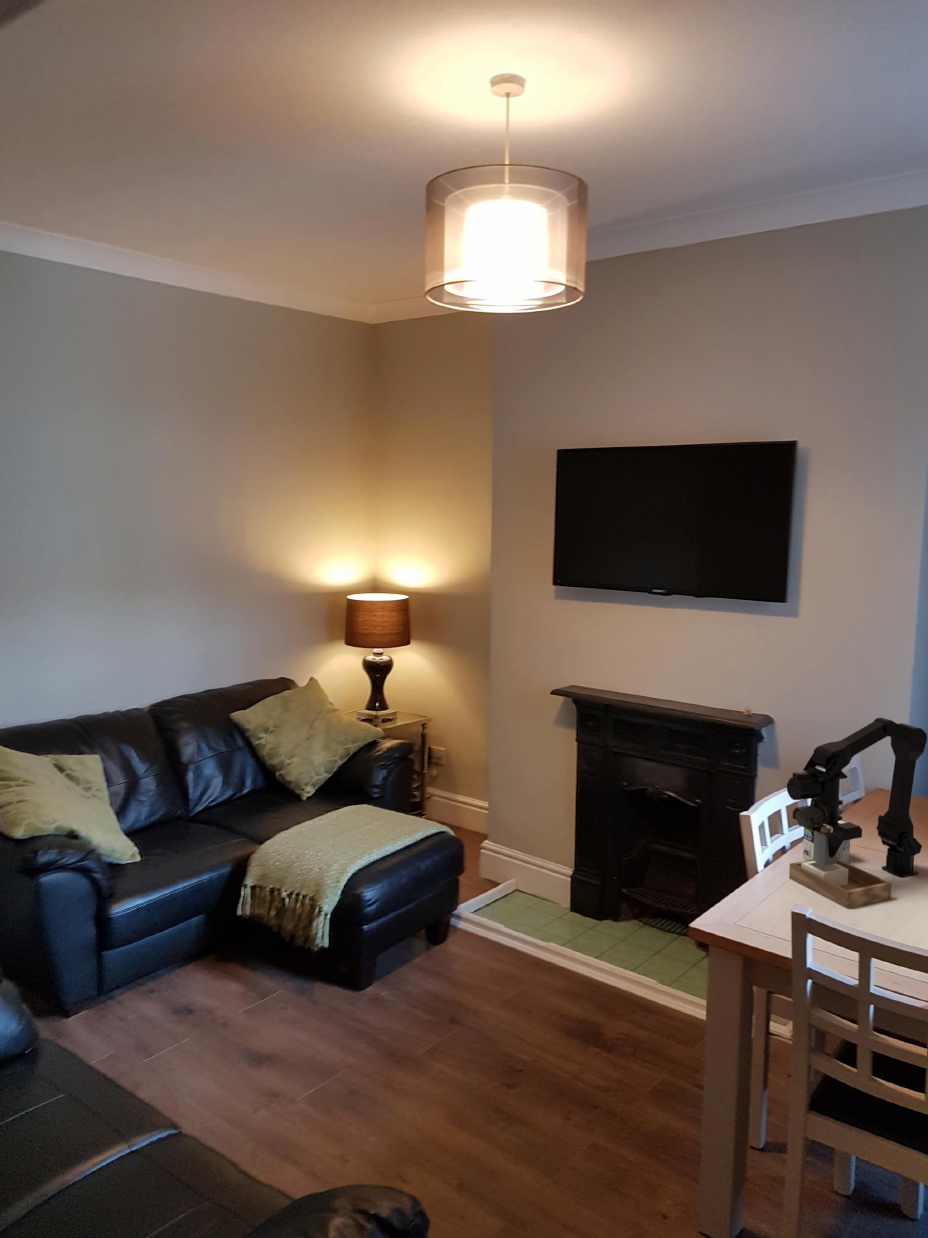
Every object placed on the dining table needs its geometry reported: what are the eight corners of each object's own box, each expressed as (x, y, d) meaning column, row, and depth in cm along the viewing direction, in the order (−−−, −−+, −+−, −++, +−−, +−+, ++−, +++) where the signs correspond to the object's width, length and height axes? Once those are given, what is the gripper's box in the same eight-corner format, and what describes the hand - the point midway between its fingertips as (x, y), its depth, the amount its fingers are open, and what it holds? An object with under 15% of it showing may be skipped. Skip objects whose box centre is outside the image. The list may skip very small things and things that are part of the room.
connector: (825, 858, 238) (826, 824, 237) (836, 863, 235) (837, 829, 233) (813, 860, 237) (814, 827, 236) (824, 866, 233) (825, 832, 232)
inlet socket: (824, 873, 241) (825, 858, 241) (847, 884, 234) (848, 869, 234) (800, 877, 238) (801, 863, 238) (823, 889, 231) (823, 874, 231)
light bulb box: (817, 867, 247) (818, 828, 246) (801, 858, 254) (802, 820, 252) (850, 862, 250) (852, 824, 249) (834, 853, 256) (835, 816, 255)
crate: (830, 870, 245) (831, 855, 244) (890, 899, 226) (891, 883, 226) (789, 878, 240) (789, 863, 239) (847, 908, 221) (847, 892, 221)
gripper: (776, 789, 239) (775, 847, 241) (829, 811, 222) (827, 872, 224) (810, 784, 243) (808, 841, 245) (864, 805, 226) (862, 865, 228)
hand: (825, 854), depth 235 cm, fingers closed on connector, 4 cm apart
